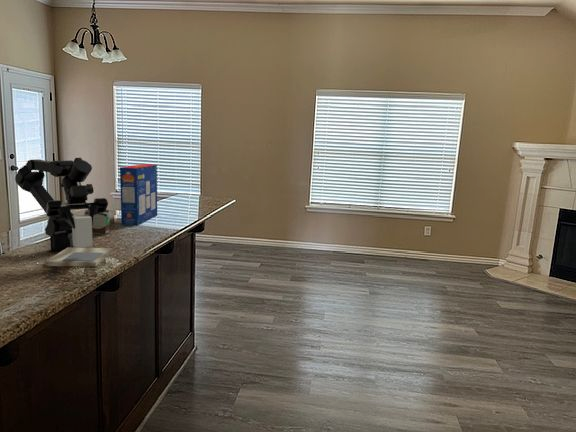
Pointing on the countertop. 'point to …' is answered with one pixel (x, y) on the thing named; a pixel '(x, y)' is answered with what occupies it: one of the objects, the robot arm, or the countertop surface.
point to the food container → (100, 222)
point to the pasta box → (138, 193)
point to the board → (79, 257)
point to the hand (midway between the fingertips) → (83, 227)
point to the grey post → (82, 231)
